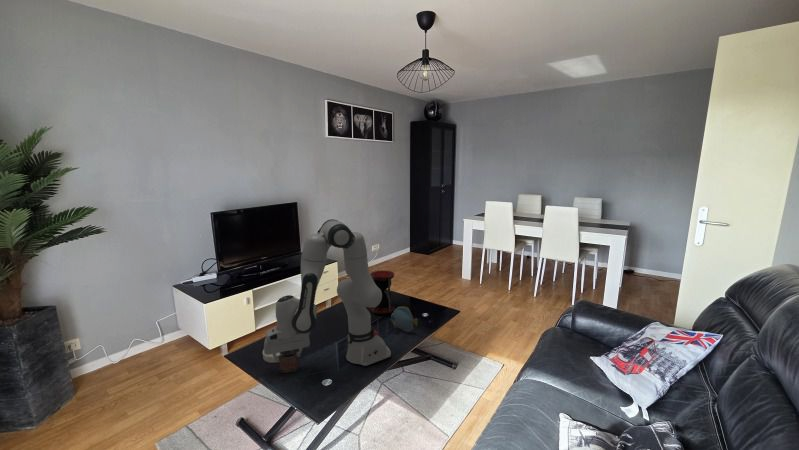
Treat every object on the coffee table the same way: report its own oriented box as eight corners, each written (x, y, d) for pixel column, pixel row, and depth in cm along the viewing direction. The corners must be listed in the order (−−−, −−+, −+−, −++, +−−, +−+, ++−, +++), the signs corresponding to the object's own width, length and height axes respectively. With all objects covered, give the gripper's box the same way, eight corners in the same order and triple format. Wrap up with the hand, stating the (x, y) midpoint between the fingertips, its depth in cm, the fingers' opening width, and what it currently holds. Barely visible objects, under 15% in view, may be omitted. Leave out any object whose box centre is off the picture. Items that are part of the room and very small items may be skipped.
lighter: (297, 367, 160) (296, 347, 158) (296, 371, 157) (295, 351, 155) (280, 368, 159) (278, 349, 157) (278, 373, 155) (277, 353, 154)
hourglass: (365, 309, 227) (365, 273, 223) (384, 303, 238) (383, 268, 234) (381, 316, 215) (380, 279, 211) (399, 309, 226) (399, 273, 222)
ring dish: (290, 345, 180) (290, 340, 179) (293, 358, 167) (293, 353, 167) (262, 351, 174) (262, 346, 174) (263, 365, 162) (263, 359, 161)
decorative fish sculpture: (395, 322, 207) (395, 299, 205) (422, 330, 196) (423, 306, 194) (383, 330, 197) (383, 305, 195) (411, 339, 186) (411, 313, 184)
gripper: (308, 323, 162) (309, 350, 164) (262, 331, 153) (264, 359, 156) (310, 329, 156) (311, 357, 158) (263, 337, 148) (265, 366, 150)
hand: (287, 358), depth 157 cm, fingers open, 8 cm apart
